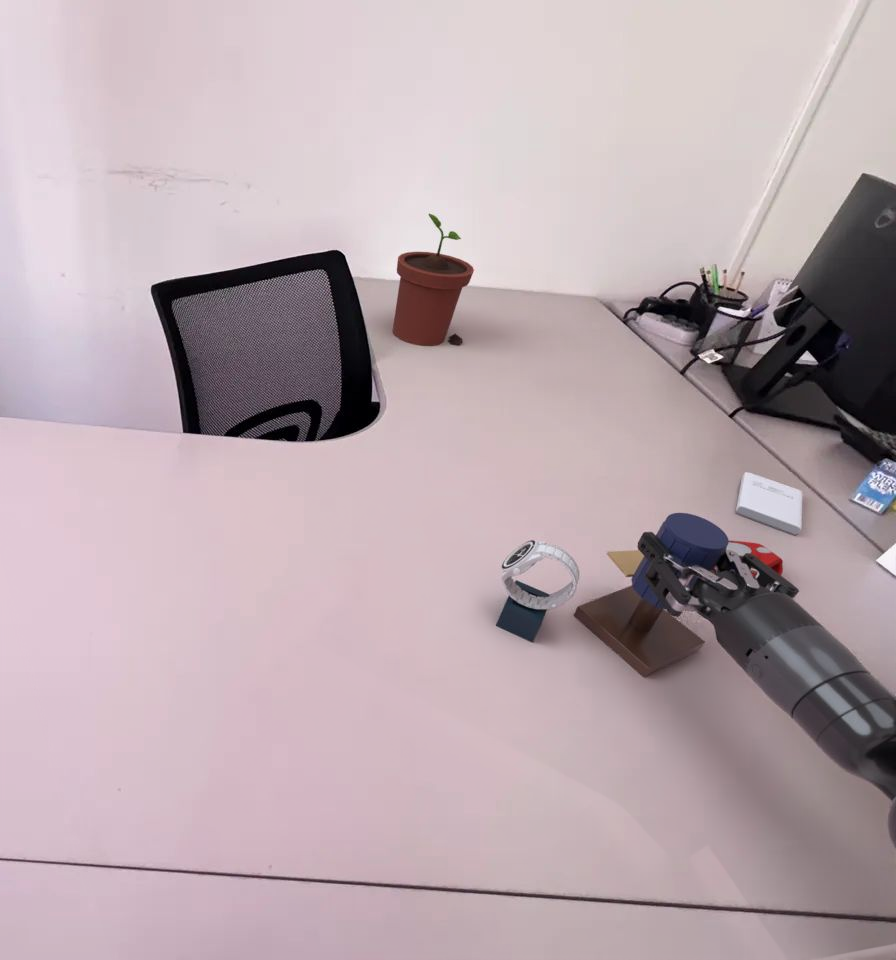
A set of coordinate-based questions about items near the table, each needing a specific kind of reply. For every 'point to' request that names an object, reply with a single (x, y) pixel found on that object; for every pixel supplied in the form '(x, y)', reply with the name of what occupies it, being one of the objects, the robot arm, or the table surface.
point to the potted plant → (429, 294)
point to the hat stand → (638, 630)
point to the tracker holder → (757, 555)
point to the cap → (675, 551)
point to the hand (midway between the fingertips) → (669, 537)
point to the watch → (532, 589)
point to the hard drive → (770, 503)
